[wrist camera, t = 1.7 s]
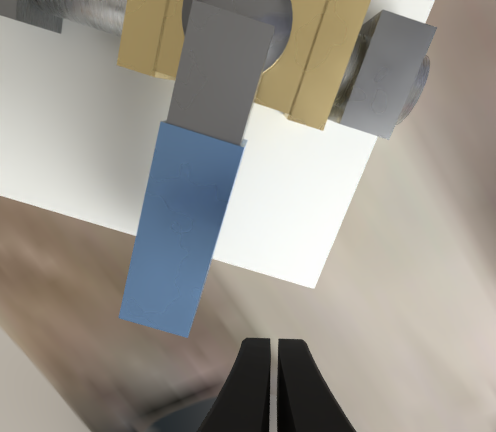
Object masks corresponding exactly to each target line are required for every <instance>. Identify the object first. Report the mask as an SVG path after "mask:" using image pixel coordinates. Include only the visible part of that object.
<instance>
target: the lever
mask: <svg viewBox="0 0 496 432" xmlns="http://www.w3.org/2000/svg"><path fill="white" fill-rule="evenodd" d="M292 22H293V11H292V3H291V0H183V6H182V27H183V32H184V36H185V38H184V43H183V48H182V52H181V57H180V61H179V66H178V70H177V75H176V80H175V84H174V89H173V93H172V98H171V103H170V107H169V112H168V116H167V120H164V121H161V122H160V126H159V131H158V136H157V140H156V145H155V150H154V154H153V159H152V164H151V169H150V173H149V178H148V183H147V187H146V192H145V197H144V201H143V206H142V211H141V216H140V220H139V225H138V230H137V234H136V239H135V244H134V248H133V253H132V258H131V263H130V267H129V272H128V277H127V281H126V286H125V291H124V295H123V300H122V305H121V310H120V314H119V318H120V319H124V320H127V321H131V322H134V323H138V324H141V325H145V326H148V327H152V328H155V329H159V330H162V331H166V332H169V333H173V334H176V335H180V336H183V337H187V338H188V336H189V332H190V329H191V326H192V323H193V320H194V317H195V314H196V311H197V308H198V305H199V302H200V298H201V295H202V292H203V288H204V285H205V282H206V278H207V275H208V272H209V268H210V265H211V262H212V258H213V255H214V251H215V248H216V245H217V241H218V238H219V235H220V231H221V228H222V225H223V221H224V218H225V215H226V211H227V208H228V204H229V201H230V198H231V194H232V191H233V188H234V184H235V181H236V178H237V174H238V171H239V168H240V164H241V161H242V157H243V154H244V151H245V147H246V144H247V141H248V140H246V139H244V136H245V133H246V129H247V126H248V122H249V119H250V116H251V112H252V109H253V105H254V102H255V99H256V95H257V92H258V88H259V85H260V82H261V78H262V75H263V74H264V73H265V72H267V71H268V70H269V69H271V68H272V67H273V66H274V65H275V64H276V63H277V61H278V60H279V59H280V57H281V56H282V54H283V52H284V50H285V48H286V46H287V43H288V40H289V37H290V34H291V30H292Z"/></svg>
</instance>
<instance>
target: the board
mask: <svg viewBox="0 0 496 432" xmlns="http://www.w3.org/2000/svg"><path fill="white" fill-rule="evenodd" d="M434 1H435V0H371V2H370V4H369V7H368V10H367V13H366V15H365V18H364V21H363V24H364V23H366V22H367V21H368V20H370V19H371V18H372V17H374V16H375V15H376V14H377V13H379V12H380V11H381V10H386V11H389V12H392V13H395V14H398V15H401V16H404V17H407V18H410V19H413V20H416V21H419V22H422V23H425V22H426V20H427V18H428V15H429V13H430V10H431V8H432V6H433V3H434ZM363 24H362V25H363ZM120 41H121V37H119V36H116V35H113V34H110V33H107V32H103V31H100V30H97V29H94V28H91V27H88V26H85V25H82V24H79V23H76V22H72V21H69V20H66V19H63V23H62V32H61V34H60V33H56V32H53V31H50V30H46V29H43V28H40V27H36V26H33V25H30V24H27V23H23V22H20V21H17V20H14V19H10V18H7V17H4V16H1V15H0V196H4V197H7V198H10V199H14V200H17V201H20V202H24V203H27V204H30V205H34V206H37V207H41V208H44V209H47V210H51V211H54V212H57V213H61V214H64V215H67V216H71V217H74V218H78V219H81V220H84V221H88V222H91V223H94V224H98V225H101V226H104V227H108V228H111V229H114V230H118V231H121V232H125V233H128V234H131V235H135V236H136V234H137V230H138V225H139V220H140V216H141V211H142V206H143V201H144V197H145V192H146V187H147V183H148V178H149V173H150V169H151V164H152V159H153V154H154V150H155V145H156V140H157V136H158V131H159V126H160V122H161V121H164V120H167V116H168V112H169V107H170V103H171V98H172V93H173V89H174V84H175V81H174V80H168V79H162V78H156V77H152V76H149V75H146V74H143V73H140V72H137V71H134V70H130V69H127V68H124V67H121V66H118V65H117V59H118V53H119V47H120ZM283 113H284V112H281V111H278V110H275V109H272V108H268V107H265V106H262V105H259V104H256V103H254V105H253V109H252V112H251V116H250V119H249V122H248V126H247V129H246V133H245V136H244V139H246V140H248V141H247V144H246V147H245V151H244V154H243V157H242V161H241V164H240V168H239V171H238V174H237V178H236V181H235V184H234V188H233V191H232V194H231V198H230V201H229V204H228V208H227V211H226V215H225V218H224V221H223V225H222V228H221V231H220V235H219V238H218V241H217V245H216V248H215V251H214V255H213V258H212V259H215V260H219V261H222V262H225V263H229V264H232V265H235V266H239V267H242V268H246V269H249V270H252V271H256V272H259V273H262V274H266V275H269V276H272V277H276V278H279V279H282V280H286V281H289V282H293V283H296V284H299V285H303V286H306V287H309V288H313V289H314V288H315V285H316V283H317V281H318V278H319V276H320V273H321V271H322V269H323V266H324V264H325V261H326V259H327V257H328V254H329V252H330V249H331V247H332V245H333V242H334V240H335V238H336V235H337V233H338V230H339V228H340V226H341V223H342V221H343V218H344V216H345V214H346V211H347V209H348V206H349V204H350V202H351V199H352V197H353V194H354V192H355V190H356V187H357V185H358V183H359V180H360V178H361V175H362V173H363V171H364V168H365V166H366V163H367V161H368V159H369V156H370V154H371V151H372V149H373V147H374V144H375V142H376V139H377V137H378V136H375V135H372V134H369V133H366V132H363V131H360V130H357V129H354V128H350V127H347V126H344V125H341V124H338V123H336V122H333V121H330V120H328V119H327V122H326V125H325V128H324V130H323V131H322V130H319V129H315V128H312V127H309V126H306V125H303V124H300V123H297V122H293V121H290V120H287V119H286V118H285V117H284V115H283Z"/></svg>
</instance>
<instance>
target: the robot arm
mask: <svg viewBox="0 0 496 432" xmlns="http://www.w3.org/2000/svg"><path fill="white" fill-rule="evenodd" d="M270 365H271V351H270V338H246V339H244V340H243V341H242V344H241V348H240V350H239V353H238V356H237V358H236V361H235V363H234V365H233V367H232V370H231V372H230V374H229V376H228V378H227V380H226V382H225V384H224V386H223V387H222V389H221V391H220V393H219V395H218V397H217V399H216V401H215V402H214V404H213V406H212V408H211V409H210V411H209V412H208V414H207V416H206V417H205V419H204V421H203V422H202V424H201V426H200V427H199V429H198V431H197V432H269V413H270ZM277 432H356V431H355V429H354V428H353V426H352V425H351V423H350V422H349V420H348V418H347V417H346V415H345V414H344V412H343V411H342V409H341V407H340V406H339V404H338V402H337V401H336V399H335V398H334V396H333V394H332V393H331V391H330V389H329V388H328V386H327V384H326V382H325V380H324V379H323V377H322V375H321V373H320V371H319V369H318V367H317V365H316V363H315V361H314V359H313V357H312V355H311V353H310V351H309V348H308V346H307V343H306V342H305V341H304V340H302V339H279V342H278V377H277Z"/></svg>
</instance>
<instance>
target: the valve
mask: <svg viewBox="0 0 496 432" xmlns="http://www.w3.org/2000/svg"><path fill="white" fill-rule="evenodd" d="M370 2H371V0H291V3H292V11H293V22H292V30H291V34H290V37H289V40H288V43H287V46H286V48H285V50H284V52H283V54H282V56H281V57H280V59H279V60H278V61H277V63H276V64H275V65H274V66H273V67H272V68H271V69H269V70H268V71H267V72H265V73H264V74H263V75H262V78H261V82H260V85H259V88H258V92H257V95H256V99H255V102H254V103H256V104H259V105H262V106H265V107H268V108H272V109H275V110H278V111H281V112H284V113H283V115H284V117H285V118H286V119H287V120H290V121H293V122H297V123H300V124H303V125H306V126H309V127H312V128H315V129H319V130H322V131H323V130H324V128H325V125H326V122H327V119H328V120H330V121H333V122H336V123H338V124H341V125H344V126H347V127H350V128H354V129H357V130H360V131H363V132H366V133H369V134H372V135H375V136H379V137H382V138H385V139H388V140H389V139H390V136H391V134H392V132H393V129H394V127H395V125H398V124H399V123H401V122H402V121H403V120H404V119H405V118H406V117H407V116H408V115H409V113H410V112H411V110H412V109H413V107H414V106H415V104H416V103H417V101H418V99H419V97H420V95H421V93H422V91H423V88H424V86H425V83H426V80H427V77H428V73H429V68H430V60H429V57H428V56H427V55H426V53H427V50H428V48H429V46H430V43H431V41H432V39H433V36H434V34H435V32H436V29H437V27H434V26H431V25H428V24H425V23H422V22H419V21H416V20H413V19H410V18H407V17H404V16H401V15H398V14H395V13H392V12H389V11H386V10H381V11H380V12H379V13H377V14H376V15H375V16H374V17H372V18H371V19H370V20H368V21H367V22H366V23H364V24H363V21H364V18H365V15H366V13H367V10H368V7H369V4H370ZM182 6H183V0H0V15H1V16H4V17H7V18H10V19H14V20H17V21H20V22H23V23H27V24H30V25H33V26H36V27H40V28H43V29H46V30H50V31H53V32H56V33H60V34H61V32H62V23H63V19H66V20H69V21H72V22H76V23H79V24H82V25H85V26H88V27H91V28H94V29H97V30H100V31H103V32H107V33H110V34H113V35H116V36H119V37H121V41H120V47H119V53H118V59H117V65H118V66H121V67H124V68H127V69H130V70H134V71H137V72H140V73H143V74H146V75H149V76H152V77H156V78H162V79H168V80H174V81H175V80H176V75H177V70H178V66H179V61H180V57H181V52H182V48H183V43H184V38H185V36H184V32H183V27H182ZM362 24H363V25H362Z"/></svg>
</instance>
